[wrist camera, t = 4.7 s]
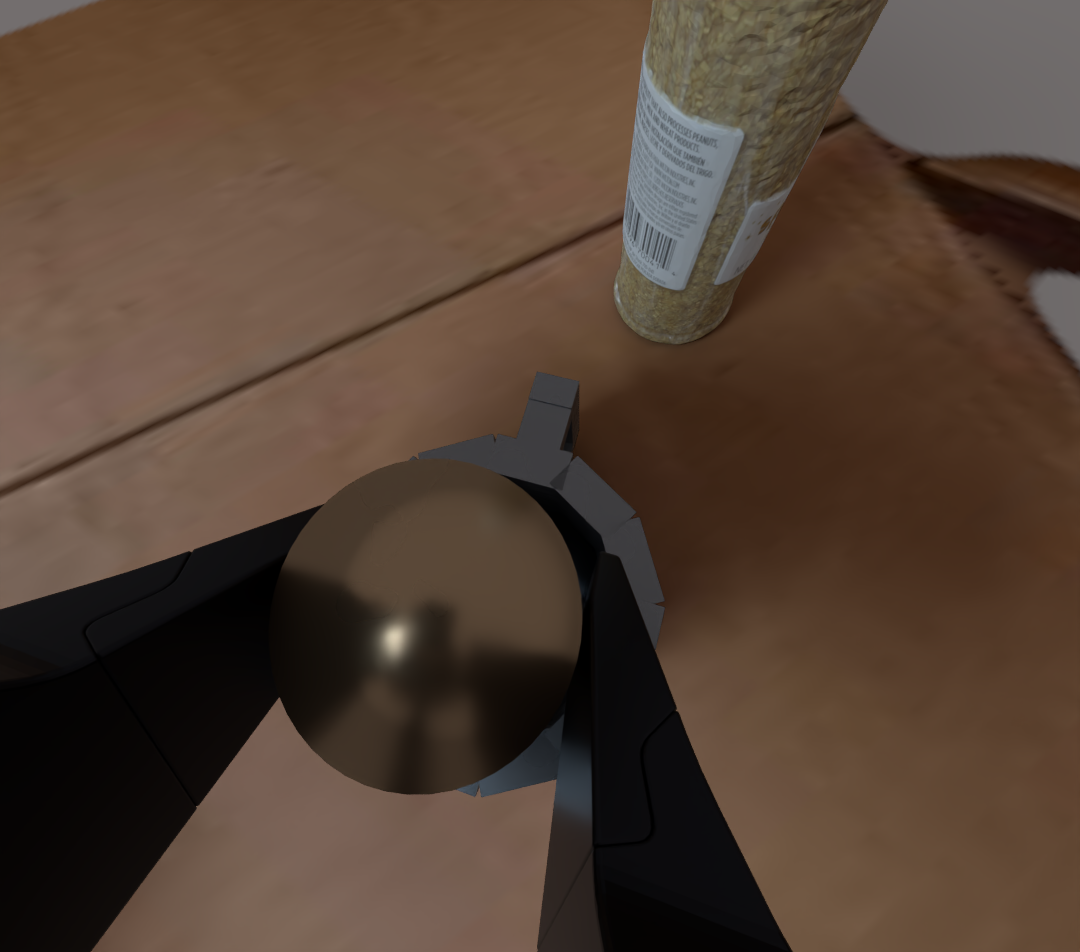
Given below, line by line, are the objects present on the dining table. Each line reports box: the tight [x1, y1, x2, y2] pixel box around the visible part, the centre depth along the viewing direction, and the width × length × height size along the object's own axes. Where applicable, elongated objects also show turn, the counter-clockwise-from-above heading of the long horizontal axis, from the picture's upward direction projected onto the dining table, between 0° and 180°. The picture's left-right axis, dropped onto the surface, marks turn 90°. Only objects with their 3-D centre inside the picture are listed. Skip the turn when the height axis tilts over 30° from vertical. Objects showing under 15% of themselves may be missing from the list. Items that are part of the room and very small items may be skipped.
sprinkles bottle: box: [614, 0, 888, 344], centre depth 11 cm, size 5×5×14 cm
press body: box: [408, 372, 665, 797], centre depth 13 cm, size 10×8×5 cm
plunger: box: [269, 458, 582, 794], centre depth 10 cm, size 4×4×8 cm
